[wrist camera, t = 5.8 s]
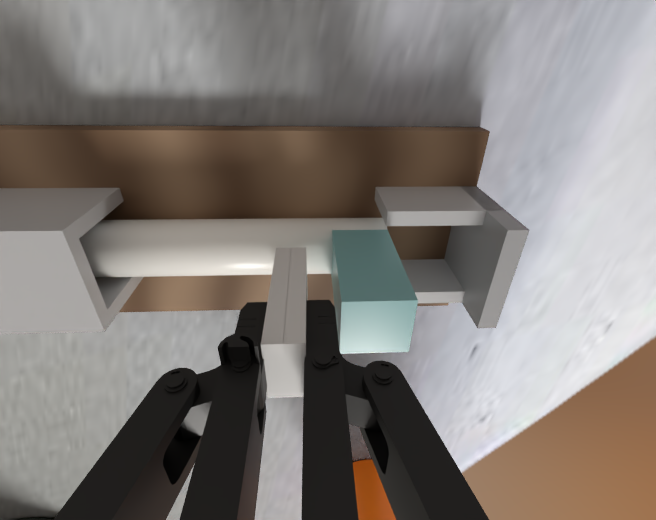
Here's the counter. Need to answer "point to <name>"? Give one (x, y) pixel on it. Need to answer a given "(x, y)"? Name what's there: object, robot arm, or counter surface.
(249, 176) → the board
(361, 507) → the shaker bottle
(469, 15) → the counter surface
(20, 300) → the sleeve
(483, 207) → the socket
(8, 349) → the counter surface
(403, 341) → the bolt
